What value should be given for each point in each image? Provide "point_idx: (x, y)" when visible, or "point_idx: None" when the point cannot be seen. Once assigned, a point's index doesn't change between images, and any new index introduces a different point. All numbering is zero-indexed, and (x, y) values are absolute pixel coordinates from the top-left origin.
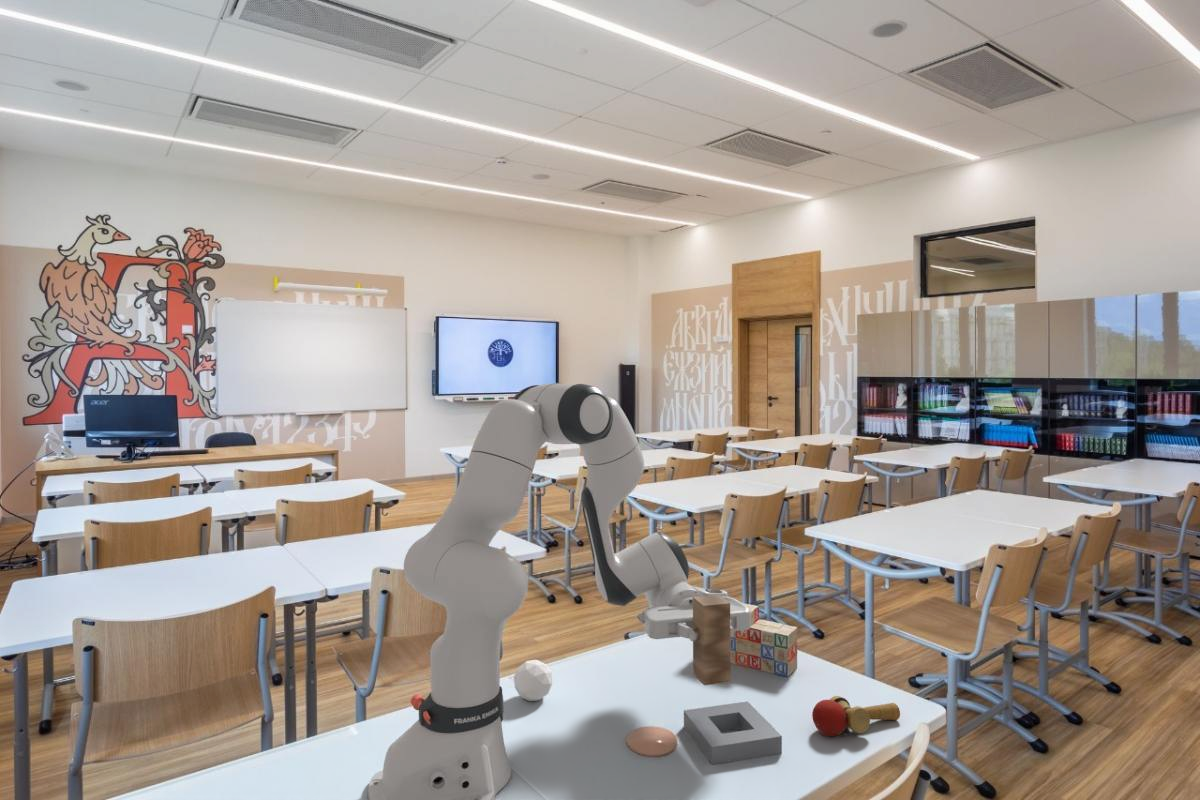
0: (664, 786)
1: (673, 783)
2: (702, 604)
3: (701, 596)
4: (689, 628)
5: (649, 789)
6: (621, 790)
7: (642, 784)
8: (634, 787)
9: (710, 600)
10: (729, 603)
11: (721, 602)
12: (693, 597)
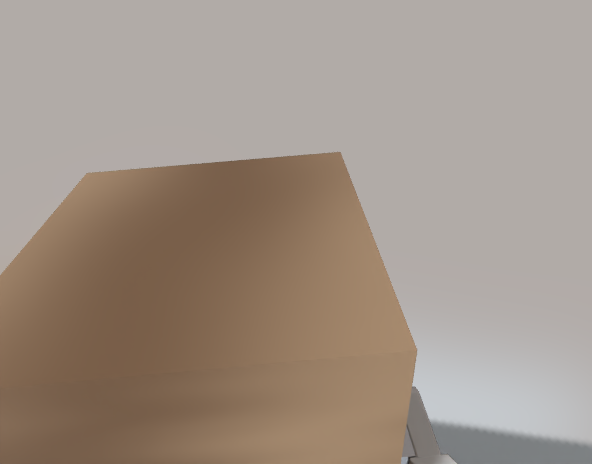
0: (467, 439)
1: (446, 447)
2: (341, 165)
3: (257, 341)
4: (432, 448)
5: (502, 434)
6: (571, 441)
7: (523, 455)
8: (541, 447)
9: (214, 222)
10: (95, 173)
11: (143, 186)
12: (407, 328)
